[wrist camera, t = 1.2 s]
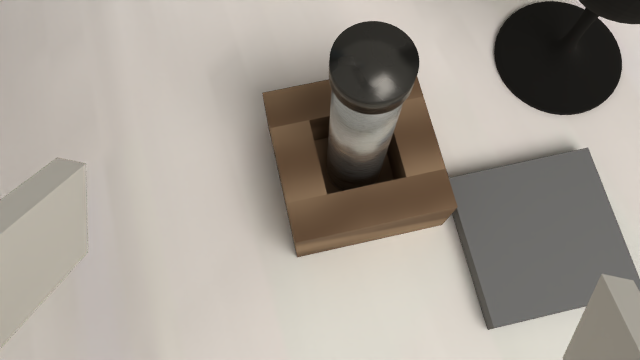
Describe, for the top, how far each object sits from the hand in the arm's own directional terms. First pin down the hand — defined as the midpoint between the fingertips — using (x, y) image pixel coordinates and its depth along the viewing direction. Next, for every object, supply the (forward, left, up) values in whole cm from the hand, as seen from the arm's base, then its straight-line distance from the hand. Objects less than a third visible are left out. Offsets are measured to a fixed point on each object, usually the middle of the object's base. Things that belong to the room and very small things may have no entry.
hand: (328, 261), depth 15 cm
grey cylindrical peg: (-11, +5, -27) cm, 29 cm away
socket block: (-11, +5, -28) cm, 30 cm away
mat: (-3, +17, -28) cm, 33 cm away
